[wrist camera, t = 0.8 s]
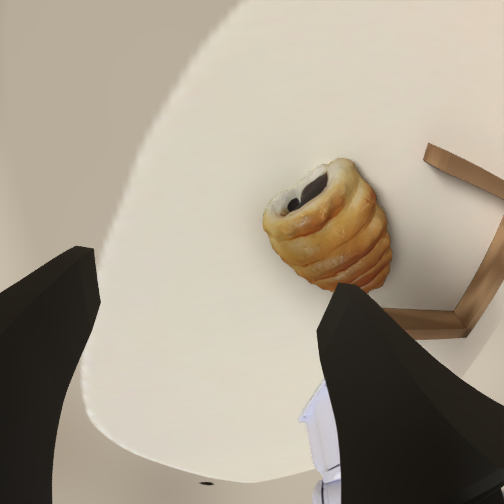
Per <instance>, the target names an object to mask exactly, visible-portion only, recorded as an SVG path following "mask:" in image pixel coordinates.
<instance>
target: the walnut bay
mask: <svg viewBox="0 0 504 504" xmlns="http://www.w3.org/2000/svg"><path fill="white" fill-rule="evenodd" d="M423 160H424V161H426V162H428V163H430V164H431V165H433V166H435V167H437V168H439V169H440V170H442V171H444V172H446V173H448V174H450V175H453V176H455V177H457V178H460V179H462V180H464V181H467V182H469V183H471V184H473V185H475V186H478V187H480V188H482V189H484V190H486V191H488V192H490V193H492V194H494V195H496V196H498V197H500V198H502V199H504V180H502V179H500V178H499V177H497V176H495V175H493V174H491V173H490V172H488V171H486V170H484V169H482V168H480V167H478V166H476V165H475V164H473V163H471V162H469V161H467V160H465V159H463V158H461V157H458V156H456V155H454V154H452V153H450V152H448V151H446V150H444V149H441V148H439V147H437V146H435V145H432V144H430V143H428V146H427V149H426V152H425V156H424V159H423ZM503 280H504V216H503V219H502V221H501V224H500V226H499V228H498V230H497V233H496V235H495V237H494V239H493V241H492V243H491V246H490V248H489V250H488V252H487V254H486V256H485V258H484V260H483V262H482V264H481V265H480V267H479V269H478V271H477V273H476V275H475V277H474V278H473V280H472V282H471V284H470V286H469V287H468V289H467V291H466V292H465V294H464V296H463V297H462V299H461V301H460V302H459V304H458V306H457V307H456V309H455V310H454V311H432V310H409V309H390V308H382V309H383V310H384V311H385V312H386V313H387V314H388V315H389V316H390V317H391V318H392V319H394V320H395V321H396V322H397V323H398V324H399V325H400V326H401V327H402V328H403V329H404V330H405V331H406V332H407V333H408V334H409V335H410V336H411V337H412V338H413V339H414V340H429V339H450V338H466V337H467V336H468V335H469V333H470V332H471V330H472V329H473V328H474V326H475V325H476V323H477V322H478V320H479V319H480V317H481V316H482V314H483V313H484V311H485V310H486V308H487V307H488V305H489V304H490V302H491V300H492V299H493V297H494V295H495V294H496V292H497V290H498V289H499V287H500V285H501V284H502V282H503Z"/></svg>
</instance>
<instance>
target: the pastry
mask: <svg viewBox="0 0 504 504" xmlns="http://www.w3.org/2000/svg"><path fill="white" fill-rule="evenodd" d="M376 201H377V199H376V195H375V192H374V190H373V189H372V188H371V187H370V186H369V184H368V183H367V182H366V181H365V180H364V179H363V178H362V177H361V176H360V174H359V173H358V171H357V170H356V167H355V164H354V162H352V161H350V160H349V159H345V158H338V159H336V160H335V161H332V162H330V163H329V164H327V165H325V164H322V165H320V166H318V167H316V168H315V169H313V170H311V171H310V172H309V173H308V174H307V175H306V176H305V177H304V178H303V179H301V180H300V181H299V183H298V184H297V185H296V186H295V187H294V188H292V189H289V190H286V191H283V192H282V193H280V194H278V195H277V196H276V197H275V198H274V199H272V200H271V201H270V202H269V204H268V206H267V208H266V209H265V211H264V215H263V229H264V231H265V232H266V233H267V234H268V236H269V239H270V243H271V245H272V248H273V249H274V250H275V252H276V253H277V254H278V255H280V257H281V259H282V260H283V261H284V262H285V263H287V264H288V265H289V266H290V267H292V268H293V269H294V271H295V272H296V273H297V274H298V275H299V276H301V277H303V278H305V279H306V280H307V281H308V282H309V283H311V284H315V285H318V286H319V287H320V288H322V289H324V290H329V291H331V292H334V291H335V289H336V286H337V284H338V283H347V284H355V285H357V286H358V287H359V288H361V289H362V290H363V291H364V292H365V293H368V292H369V291H371V290H372V289H377V288H380V287H382V286H383V284H384V282H385V279H386V277H387V275H388V274H389V270H390V261H391V260H392V249H391V248H390V236H389V234H388V231H387V228H386V227H387V219H386V216H385V212H384V210H383V209H382V208H381V207H380V206H379V205H378V203H377V202H376Z"/></svg>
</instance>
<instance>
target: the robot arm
mask: <svg viewBox="0 0 504 504" xmlns="http://www.w3.org/2000/svg"><path fill="white" fill-rule="evenodd" d="M100 303H101V301H100V295H99V288H98V281H97V273H96V265H95V256H94V249H93V248H86V247H81V246H75V247H73V248H71V249H69V250H67V251H65V252H63V253H62V254H60V255H59V256H57V257H55V258H54V259H52V260H50V261H49V262H47V263H46V264H44V265H43V266H41V267H40V268H38V269H37V270H35V271H34V272H32V273H30V274H29V275H28V276H26V277H24V278H23V279H21V280H20V281H18V282H17V283H15V284H13V285H12V286H10V287H9V288H7V289H6V290H4V291H3V292H1V293H0V504H52V470H53V458H54V449H55V441H56V435H57V429H58V424H59V419H60V414H61V410H62V406H63V402H64V398H65V395H66V392H67V389H68V386H69V384H70V381H71V379H72V376H73V374H74V371H75V369H76V367H77V364H78V362H79V359H80V357H81V355H82V352H83V350H84V348H85V345H86V343H87V341H88V339H89V336H90V334H91V332H92V329H93V326H94V322H95V319H96V316H97V313H98V310H99V306H100ZM317 340H318V349H319V356H320V362H321V366H322V370H323V374H324V378H325V379H324V380H323V382H322V383H321V385H320V386H319V388H318V389H317V391H316V393H315V394H314V396H313V397H312V399H311V400H310V402H309V403H308V405H307V406H306V408H305V409H304V411H303V412H302V414H301V415H300V417H299V418H298V421H299V422H306V425H307V431H308V437H309V443H310V449H311V455H312V461H313V464H314V466H315V468H316V469H317V470H318V471H319V473H321V474H322V477H323V480H320V481H318V483H317V485H316V486H315V488H314V490H313V496H312V501H313V504H504V489H503V490H501V487H503V486H504V406H503V405H501V404H499V403H497V402H496V401H494V400H492V399H491V398H489V397H487V396H486V395H484V394H482V393H481V392H479V391H478V390H476V389H475V388H473V387H472V386H470V385H469V384H467V383H466V382H464V381H463V380H462V379H460V378H459V377H458V376H456V375H455V374H454V373H453V372H451V371H450V370H449V369H448V368H446V367H445V366H444V365H443V364H441V363H440V362H439V361H438V360H436V359H435V358H434V357H433V356H432V355H431V354H430V353H428V352H427V351H426V350H425V349H424V348H423V347H422V346H421V345H420V344H419V343H417V342H416V341H415V340H414V339H413V338H412V337H411V336H410V335H409V334H408V333H407V332H406V331H405V330H404V329H403V328H402V327H401V326H400V325H399V324H398V323H397V322H396V321H395V320H394V319H392V318H391V317H390V316H389V315H388V314H387V313H386V312H385V311H384V310H383V309H382V308H381V307H380V306H379V305H378V304H377V303H376V302H375V301H374V300H373V299H372V298H371V297H370V296H369V295H368V294H366V293H365V292H364V291H363V290H362V289H361V288H359V287H358V286H357V285H355V284H347V283H338V284H337V286H336V289H335V291H334V293H333V295H332V298H331V300H330V302H329V304H328V307H327V309H326V311H325V313H324V315H323V318H322V320H321V322H320V324H319V326H318V328H317Z"/></svg>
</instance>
